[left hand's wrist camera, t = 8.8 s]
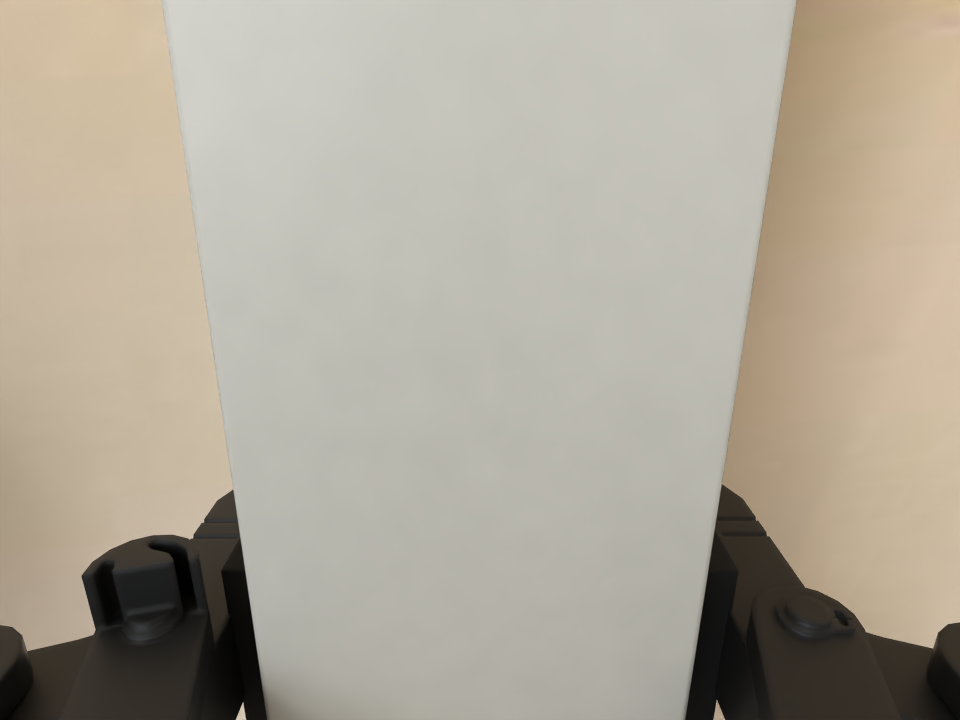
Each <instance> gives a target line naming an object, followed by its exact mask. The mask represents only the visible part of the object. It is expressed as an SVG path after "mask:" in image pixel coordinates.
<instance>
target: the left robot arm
mask: <svg viewBox="0 0 960 720" xmlns="http://www.w3.org/2000/svg"><path fill="white" fill-rule="evenodd" d="M82 579H83V583H84V587H85V591H86V595H87V598H88V602H89V606H90V610H91V614H92V617H93V621H94V625H95V629H96V631H95V633H94V635H92V636H89V637H86V638H82V639H79V640H75V641H71V642H66V643H62V644H58V645H53V646H49V647H44V648H40V649H36V650H31V651H27V650H26V647H25V643H24V640H23V637H22V635H21V634H20V633H19V632H17V631H16V630H15V629H14V628H13V627H8V626H1V625H0V720H236V717H237V715H238V713H239V710H240V708H241V705H242V703H244V709H245V715H246V720H267V715H266V708H265V701H264V694H263V688H262V681H261V674H260V667H259V660H258V653H257V647H256V640H255V633H254V626H253V619H252V613H251V606H250V599H249V592H248V585H247V578H246V572H245V565H244V558H243V551H242V544H241V538H240V531H239V524H238V517H237V510H236V503H235V497H234V490H232V491H231V492H229V493H228V494H226V495H225V496H223V497H222V498H221V499H219V500H218V501H217V502H216V503H215V505H214V506H213V508H212V509H211V511H210V512H209V513H208V515H207V516H206V518H205V519H204V523H201V525H200V526H199V528H198V529H197V531H196V532H195V533H194V537H193V539H190V540H189V539H188V538H184V537H179V536H175V535H153V536H148V537H144V538H140V539H136V540H132V541H129V542H127V543H124V544H122V545H120V546H118V547H115V548H113V549H111V550H109V551H108V552H106V553H105V554H103V555H102V556H100V557H99V558H98V559H96V560H95V561H93V562H92V563H91V565H90V566H89V567H88V568H87V570H86V571H85V572H84V573H83V575H82ZM716 700H717V701H718V703H719V706H720V708H721V710H722V713H723V715H724V718H725V720H960V623H953V624H948V625H947V626H945V627H944V628H943V629H942V630H941V631H940V632H938V635H937V638H936V642H935V645H934V648H933V649H932V648H928V647H923V646H919V645H914V644H910V643H906V642H901V641H897V640H892V639H888V638H884V637H880V636H877V635H873V634H870V633H867V632H865V629H864V628H863V626H862V625H861V623H860V622H859V621H858V619H857V618H856V616H855V615H854V614H853V613H852V612H851V611H850V610H848V609H847V608H846V607H845V606H843V605H842V604H841V603H840V602H838V601H837V600H835V599H833V598H831V597H829V596H827V595H824V594H822V593H820V592H818V591H815V590H812V589H808V588H805V587H804V585H803V584H802V583H801V581H800V580H799V578H798V577H797V575H796V574H795V573H794V571H793V570H792V568H791V567H790V565H789V564H788V563H787V561H786V560H785V558H784V557H783V555H782V554H781V553H780V551H779V550H778V548H777V547H776V545H775V544H774V543H773V541H772V540H771V538H770V537H769V536H767V535H766V531H765V530H764V528H763V527H762V526H761V524H760V523H759V521H756V517H755V516H754V514H753V513H752V511H751V510H750V508H749V507H748V506H747V504H746V503H745V501H744V500H743V499H742V498H741V497H739V496H738V495H737V494H735V493H734V492H732V491H731V490H729V489H728V488H727V487H725V486H724V485H721V492H720V498H719V505H718V511H717V517H716V524H715V530H714V537H713V543H712V550H711V556H710V563H709V569H708V575H707V582H706V588H705V595H704V601H703V608H702V614H701V620H700V627H699V633H698V640H697V646H696V653H695V659H694V666H693V672H692V678H691V685H690V691H689V698H688V704H687V711H686V717H685V720H713V718H714V712H715V706H716Z"/></svg>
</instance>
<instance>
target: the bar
mask: <svg viewBox="0 0 960 720" xmlns="http://www.w3.org/2000/svg"><path fill="white" fill-rule="evenodd" d="M796 2H797V0H162V6H163V13H164V20H165V26H166V33H167V40H168V47H169V54H170V60H171V67H172V74H173V81H174V88H175V95H176V101H177V108H178V115H179V122H180V129H181V135H182V142H183V149H184V156H185V163H186V170H187V176H188V183H189V190H190V197H191V204H192V210H193V217H194V224H195V231H196V238H197V244H198V251H199V258H200V265H201V272H202V279H203V285H204V292H205V299H206V306H207V313H208V319H209V326H210V333H211V340H212V347H213V354H214V360H215V367H216V374H217V381H218V388H219V394H220V401H221V408H222V415H223V422H224V429H225V435H226V442H227V449H228V456H229V463H230V469H231V476H232V483H233V490H234V497H235V503H236V510H237V517H238V524H239V531H240V538H241V544H242V551H243V558H244V565H245V572H246V578H247V585H248V592H249V599H250V606H251V613H252V619H253V626H254V633H255V640H256V647H257V653H258V660H259V667H260V674H261V681H262V688H263V694H264V701H265V708H266V715H267V720H685V717H686V711H687V704H688V698H689V691H690V685H691V678H692V672H693V666H694V659H695V653H696V646H697V640H698V633H699V627H700V620H701V614H702V608H703V601H704V595H705V588H706V582H707V575H708V569H709V563H710V556H711V550H712V543H713V537H714V530H715V524H716V517H717V511H718V505H719V498H720V492H721V485H722V479H723V472H724V466H725V460H726V453H727V447H728V440H729V434H730V427H731V421H732V414H733V408H734V402H735V395H736V389H737V382H738V376H739V369H740V363H741V356H742V350H743V344H744V337H745V331H746V324H747V318H748V311H749V305H750V299H751V292H752V286H753V279H754V273H755V266H756V260H757V253H758V247H759V241H760V234H761V228H762V221H763V215H764V208H765V202H766V195H767V189H768V183H769V176H770V170H771V163H772V157H773V150H774V144H775V138H776V131H777V125H778V118H779V112H780V105H781V99H782V92H783V86H784V80H785V73H786V67H787V60H788V54H789V47H790V41H791V34H792V28H793V22H794V15H795V9H796Z"/></svg>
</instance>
